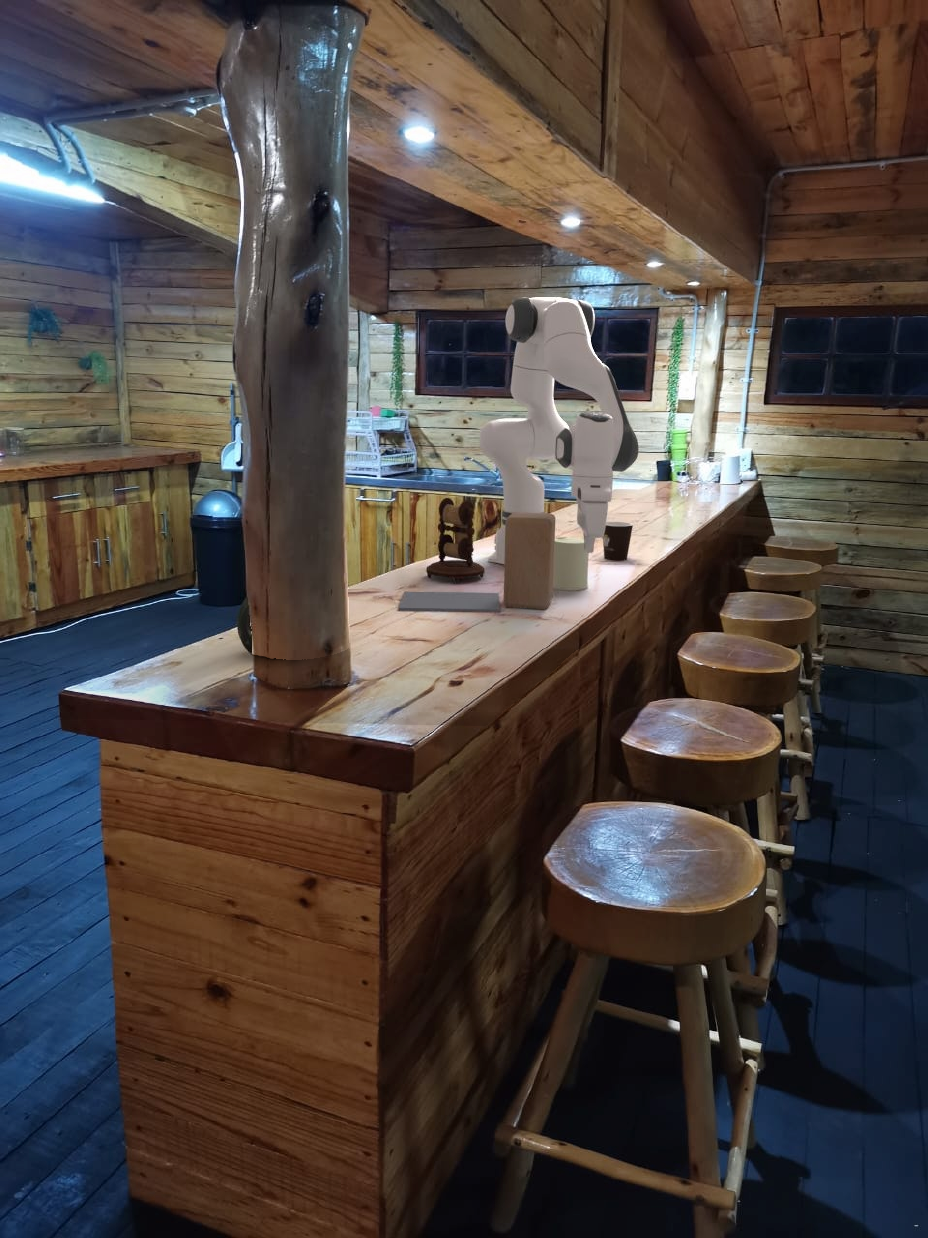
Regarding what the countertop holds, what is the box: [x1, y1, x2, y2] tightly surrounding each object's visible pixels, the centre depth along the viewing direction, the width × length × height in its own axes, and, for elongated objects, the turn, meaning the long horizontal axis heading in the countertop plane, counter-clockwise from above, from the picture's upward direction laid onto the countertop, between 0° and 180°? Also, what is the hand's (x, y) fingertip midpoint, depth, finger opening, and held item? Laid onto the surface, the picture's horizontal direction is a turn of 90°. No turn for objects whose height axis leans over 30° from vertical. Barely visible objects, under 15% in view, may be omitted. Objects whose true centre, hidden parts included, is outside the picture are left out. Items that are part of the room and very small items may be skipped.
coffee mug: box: [602, 521, 634, 562], centre depth 255 cm, size 12×9×10 cm
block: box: [502, 512, 556, 610], centre depth 198 cm, size 10×10×20 cm
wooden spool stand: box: [425, 497, 485, 585], centre depth 224 cm, size 15×15×20 cm
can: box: [553, 536, 590, 592], centre depth 217 cm, size 9×9×12 cm
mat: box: [397, 590, 501, 613], centre depth 201 cm, size 16×22×1 cm
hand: (588, 551), depth 197 cm, fingers closed
